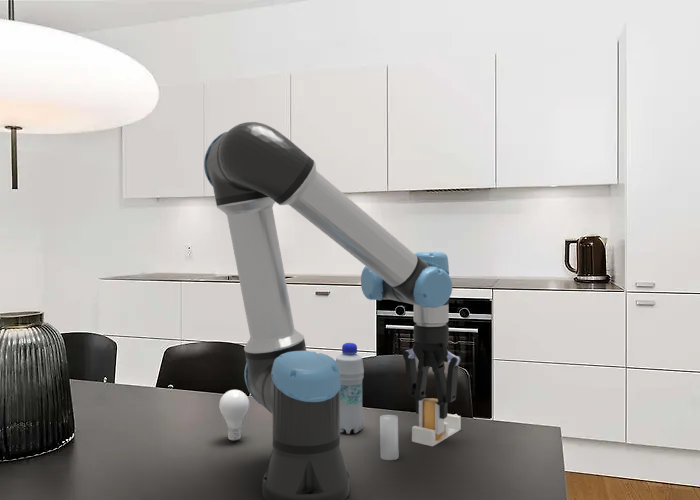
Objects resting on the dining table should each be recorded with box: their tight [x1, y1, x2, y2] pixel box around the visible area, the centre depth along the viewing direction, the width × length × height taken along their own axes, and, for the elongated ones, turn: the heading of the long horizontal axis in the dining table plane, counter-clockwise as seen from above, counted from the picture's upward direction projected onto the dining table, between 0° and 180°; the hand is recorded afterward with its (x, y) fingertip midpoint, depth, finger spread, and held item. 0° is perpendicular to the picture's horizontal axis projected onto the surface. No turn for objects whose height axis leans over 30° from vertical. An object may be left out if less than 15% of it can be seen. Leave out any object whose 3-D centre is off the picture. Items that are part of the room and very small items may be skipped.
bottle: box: [335, 342, 365, 435], centre depth 137 cm, size 7×7×20 cm
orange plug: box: [424, 397, 441, 440], centre depth 132 cm, size 4×4×8 cm
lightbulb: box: [218, 389, 250, 442], centre depth 130 cm, size 6×6×11 cm
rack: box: [411, 413, 462, 447], centre depth 134 cm, size 13×5×3 cm, turn 143°
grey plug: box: [379, 414, 400, 461], centre depth 121 cm, size 4×4×8 cm
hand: (431, 430), depth 131 cm, fingers closed on orange plug, 3 cm apart
